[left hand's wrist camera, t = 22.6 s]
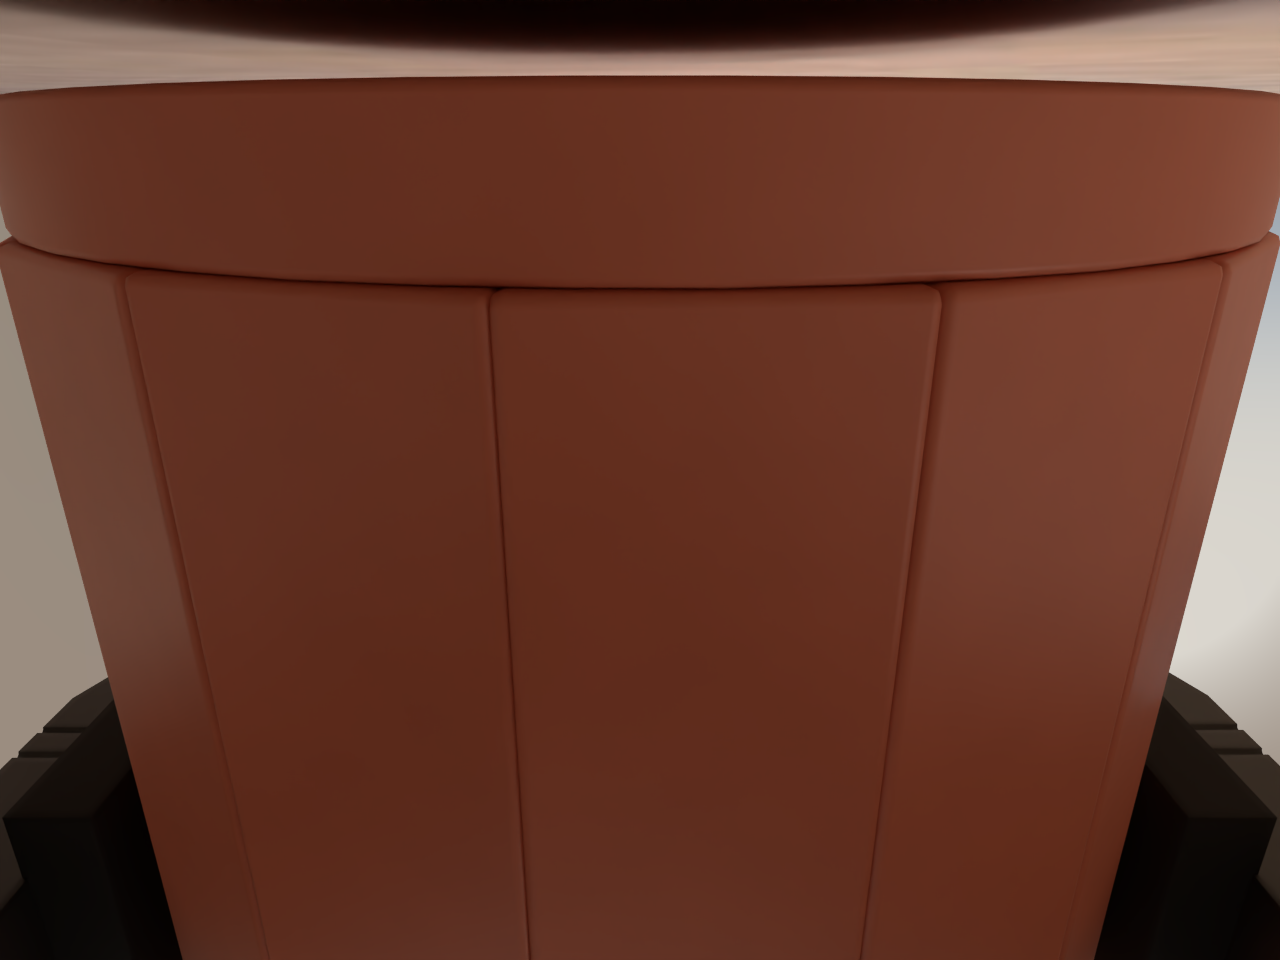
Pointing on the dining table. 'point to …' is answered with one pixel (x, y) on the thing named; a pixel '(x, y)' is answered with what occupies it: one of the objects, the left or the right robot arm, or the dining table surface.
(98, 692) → the left robot arm
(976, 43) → the dining table surface
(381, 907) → the terracotta flower pot
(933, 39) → the dining table surface
